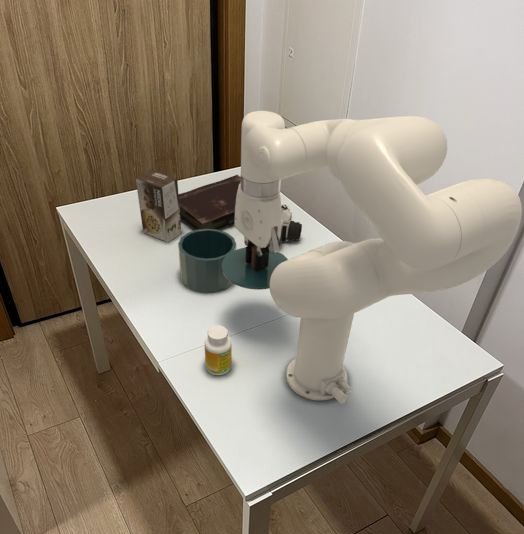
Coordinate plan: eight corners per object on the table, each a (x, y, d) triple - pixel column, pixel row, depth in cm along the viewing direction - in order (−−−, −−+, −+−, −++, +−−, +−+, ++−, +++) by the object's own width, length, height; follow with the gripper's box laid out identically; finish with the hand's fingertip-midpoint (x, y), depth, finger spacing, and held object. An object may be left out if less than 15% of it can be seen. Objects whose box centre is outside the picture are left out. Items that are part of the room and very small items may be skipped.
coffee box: (182, 232, 148) (178, 178, 136) (167, 243, 144) (162, 187, 132) (157, 222, 151) (151, 168, 140) (141, 232, 147) (134, 177, 136)
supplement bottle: (221, 379, 109) (221, 345, 102) (200, 369, 111) (198, 334, 104) (236, 364, 112) (236, 329, 105) (215, 354, 114) (214, 319, 107)
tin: (246, 281, 133) (246, 248, 126) (199, 299, 127) (197, 266, 120) (216, 255, 141) (216, 223, 134) (171, 271, 135) (168, 239, 128)
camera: (295, 254, 142) (299, 224, 137) (266, 250, 143) (269, 219, 137) (302, 233, 152) (306, 203, 146) (275, 228, 153) (278, 199, 147)
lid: (305, 276, 112) (307, 254, 108) (247, 300, 106) (248, 277, 102) (263, 244, 120) (265, 221, 116) (208, 264, 114) (207, 241, 110)
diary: (167, 211, 156) (166, 195, 152) (235, 187, 168) (235, 172, 164) (204, 239, 146) (203, 223, 142) (273, 212, 158) (274, 196, 154)
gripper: (220, 170, 102) (220, 251, 115) (270, 207, 93) (265, 290, 106) (252, 162, 105) (249, 241, 118) (303, 196, 96) (294, 278, 109)
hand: (256, 264), depth 112 cm, fingers closed on lid, 2 cm apart
